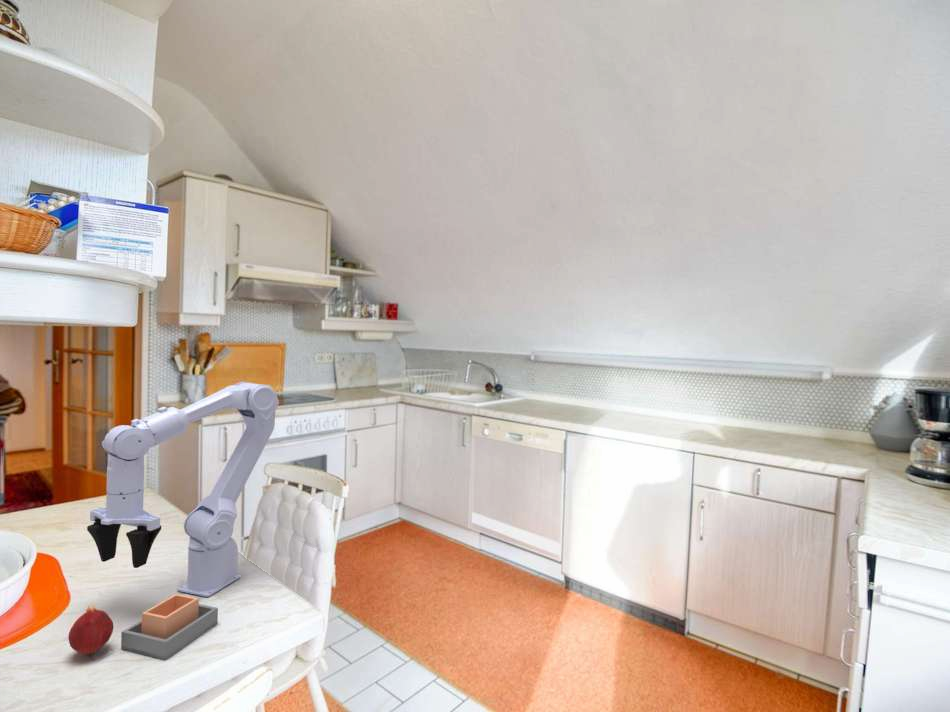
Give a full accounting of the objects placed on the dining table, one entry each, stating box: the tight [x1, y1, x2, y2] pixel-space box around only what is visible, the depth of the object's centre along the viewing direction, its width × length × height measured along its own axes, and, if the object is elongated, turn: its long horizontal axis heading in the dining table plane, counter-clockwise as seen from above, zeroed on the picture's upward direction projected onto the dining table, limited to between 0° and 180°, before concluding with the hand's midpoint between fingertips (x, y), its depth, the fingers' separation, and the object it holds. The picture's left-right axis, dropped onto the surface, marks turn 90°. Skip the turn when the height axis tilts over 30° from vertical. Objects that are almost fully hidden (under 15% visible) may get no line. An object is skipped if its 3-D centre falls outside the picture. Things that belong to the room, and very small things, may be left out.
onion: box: [67, 605, 114, 656], centre depth 82 cm, size 6×6×8 cm
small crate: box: [141, 593, 200, 639], centre depth 88 cm, size 7×5×5 cm
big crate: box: [120, 603, 219, 661], centre depth 88 cm, size 11×9×3 cm
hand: (123, 562), depth 94 cm, fingers open, 7 cm apart
